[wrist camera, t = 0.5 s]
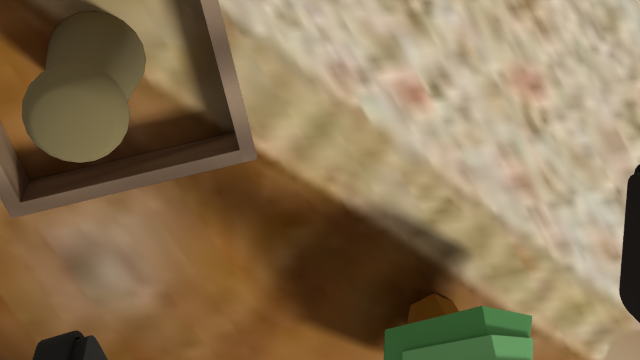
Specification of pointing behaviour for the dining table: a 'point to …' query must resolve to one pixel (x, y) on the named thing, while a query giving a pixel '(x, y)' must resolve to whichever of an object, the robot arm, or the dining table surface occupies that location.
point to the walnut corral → (141, 170)
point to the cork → (84, 88)
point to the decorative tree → (459, 333)
